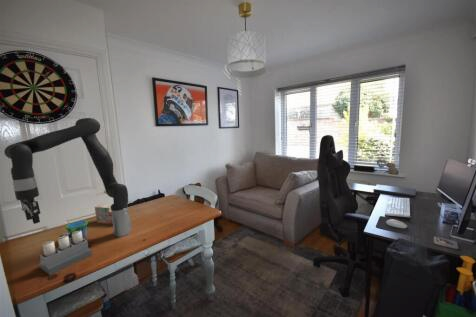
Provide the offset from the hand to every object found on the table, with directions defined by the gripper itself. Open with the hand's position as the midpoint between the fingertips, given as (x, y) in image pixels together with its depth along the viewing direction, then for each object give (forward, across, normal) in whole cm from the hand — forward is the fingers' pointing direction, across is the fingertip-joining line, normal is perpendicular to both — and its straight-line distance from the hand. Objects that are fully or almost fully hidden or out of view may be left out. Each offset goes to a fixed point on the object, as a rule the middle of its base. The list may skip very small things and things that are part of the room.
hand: (33, 221), depth 98 cm
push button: (+26, +11, -15) cm, 32 cm away
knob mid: (+19, -1, -9) cm, 21 cm away
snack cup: (+26, +19, -23) cm, 40 cm away
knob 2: (+19, -1, -15) cm, 24 cm away
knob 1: (+19, -1, -3) cm, 19 cm away
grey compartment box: (+26, -1, -9) cm, 27 cm away
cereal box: (+27, +26, -47) cm, 60 cm away
